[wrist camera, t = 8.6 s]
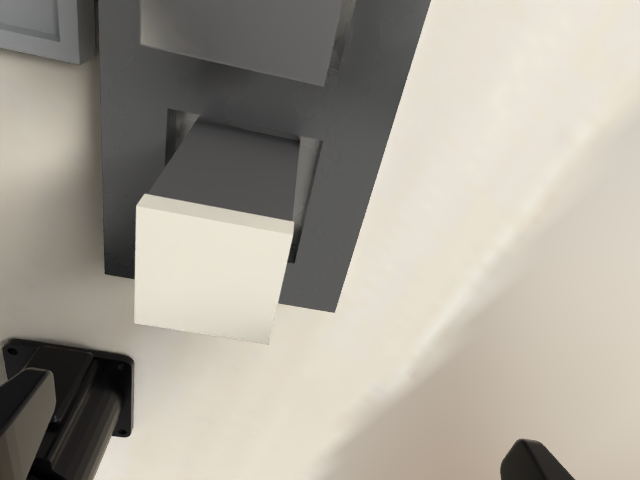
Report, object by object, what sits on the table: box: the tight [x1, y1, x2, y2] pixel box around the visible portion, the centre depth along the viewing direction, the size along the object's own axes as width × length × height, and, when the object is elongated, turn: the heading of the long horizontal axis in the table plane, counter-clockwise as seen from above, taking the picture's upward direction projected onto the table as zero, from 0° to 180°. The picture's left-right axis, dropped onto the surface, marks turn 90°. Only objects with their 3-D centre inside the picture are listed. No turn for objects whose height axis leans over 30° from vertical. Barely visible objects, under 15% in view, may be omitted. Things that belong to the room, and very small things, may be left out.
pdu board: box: [98, 0, 431, 313], centre depth 17 cm, size 18×10×2 cm, turn 168°
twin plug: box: [134, 120, 300, 345], centre depth 17 cm, size 4×4×7 cm
